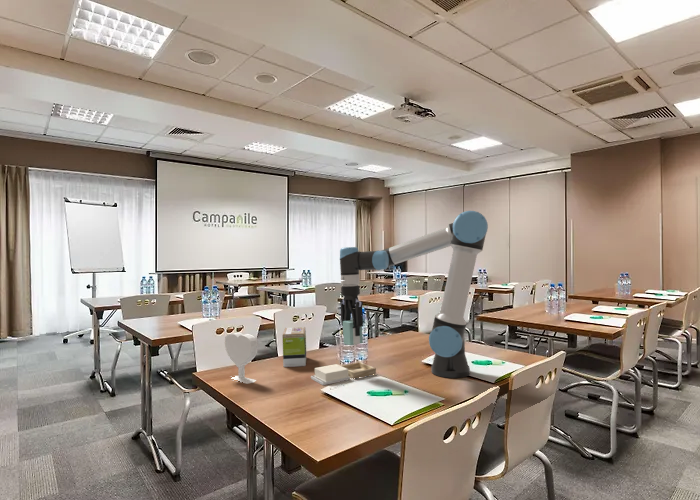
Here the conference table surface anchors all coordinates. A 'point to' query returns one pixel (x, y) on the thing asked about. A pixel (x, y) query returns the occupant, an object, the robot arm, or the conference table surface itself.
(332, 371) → the cream rectangular box
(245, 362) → the heart sculpture
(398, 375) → the conference table surface
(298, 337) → the tea box
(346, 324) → the teal block
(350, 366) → the tray
